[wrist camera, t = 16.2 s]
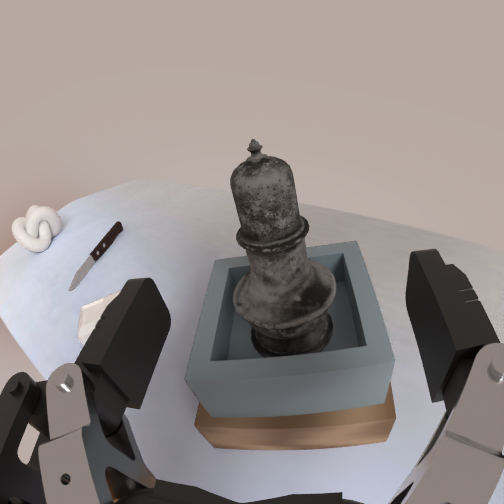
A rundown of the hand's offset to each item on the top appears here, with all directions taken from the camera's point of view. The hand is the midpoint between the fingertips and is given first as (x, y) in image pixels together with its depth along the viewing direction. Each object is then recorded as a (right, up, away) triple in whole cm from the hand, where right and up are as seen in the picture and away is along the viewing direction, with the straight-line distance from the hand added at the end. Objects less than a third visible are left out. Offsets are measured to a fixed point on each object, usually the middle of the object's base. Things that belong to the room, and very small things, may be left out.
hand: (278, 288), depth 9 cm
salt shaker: (+2, -4, +10) cm, 11 cm away
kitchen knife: (-26, 0, +38) cm, 46 cm away
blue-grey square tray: (+2, -5, +11) cm, 13 cm away
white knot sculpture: (-48, +2, +50) cm, 69 cm away
